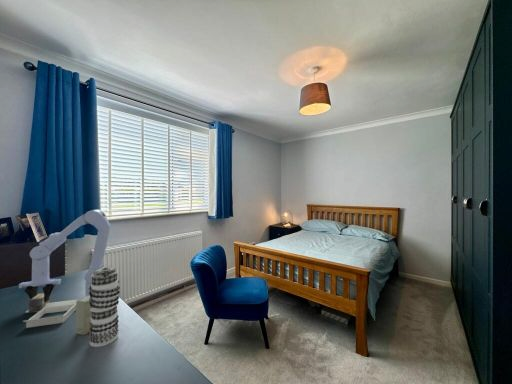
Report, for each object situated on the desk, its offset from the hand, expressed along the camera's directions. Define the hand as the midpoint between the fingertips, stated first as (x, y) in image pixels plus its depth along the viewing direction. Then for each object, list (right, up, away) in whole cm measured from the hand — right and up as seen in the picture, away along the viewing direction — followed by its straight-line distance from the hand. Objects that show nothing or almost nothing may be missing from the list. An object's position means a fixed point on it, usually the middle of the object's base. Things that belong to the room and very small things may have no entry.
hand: (40, 301), depth 99 cm
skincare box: (+34, -3, -16) cm, 38 cm away
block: (0, -2, 0) cm, 2 cm away
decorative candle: (+44, -3, -21) cm, 49 cm away
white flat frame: (+13, -3, -8) cm, 16 cm away
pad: (0, -3, 0) cm, 3 cm away
